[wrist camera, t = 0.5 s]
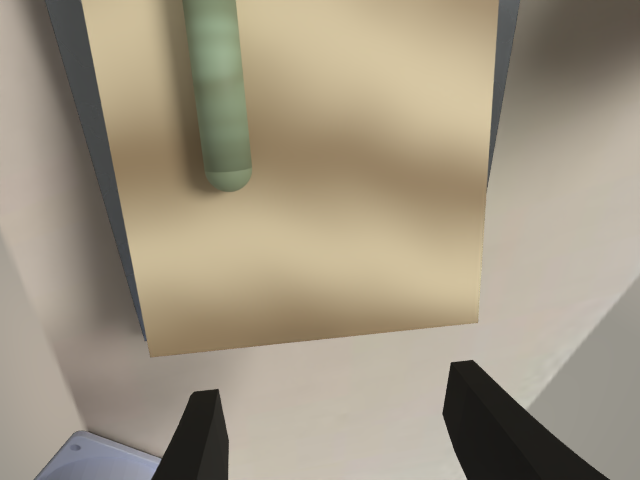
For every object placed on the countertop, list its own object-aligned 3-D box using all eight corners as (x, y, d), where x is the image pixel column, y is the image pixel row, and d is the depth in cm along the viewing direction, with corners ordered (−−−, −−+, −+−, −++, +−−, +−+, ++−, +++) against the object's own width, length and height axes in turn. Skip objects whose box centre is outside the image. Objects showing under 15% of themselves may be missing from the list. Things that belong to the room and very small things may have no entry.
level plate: (466, 310, 18) (495, 342, 15) (156, 342, 17) (139, 381, 14) (486, -51, 14) (529, -80, 12) (85, -42, 13) (46, -72, 10)
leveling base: (454, 289, 23) (466, 308, 21) (151, 319, 21) (144, 341, 20) (514, -104, 15) (539, -112, 13) (37, -98, 13) (13, -107, 12)
